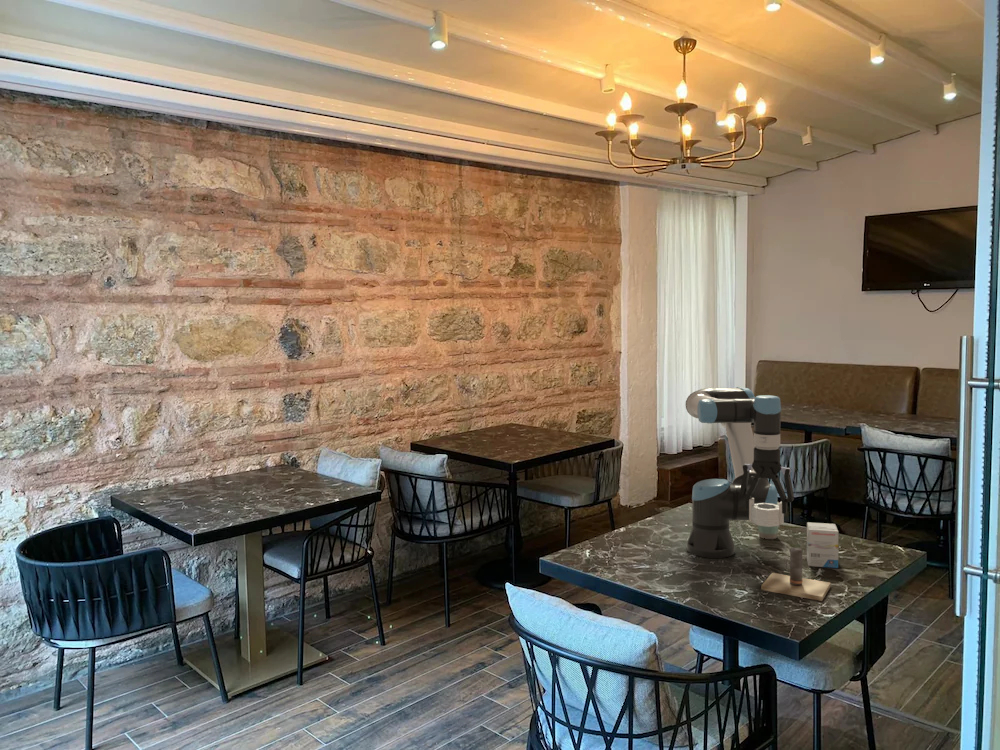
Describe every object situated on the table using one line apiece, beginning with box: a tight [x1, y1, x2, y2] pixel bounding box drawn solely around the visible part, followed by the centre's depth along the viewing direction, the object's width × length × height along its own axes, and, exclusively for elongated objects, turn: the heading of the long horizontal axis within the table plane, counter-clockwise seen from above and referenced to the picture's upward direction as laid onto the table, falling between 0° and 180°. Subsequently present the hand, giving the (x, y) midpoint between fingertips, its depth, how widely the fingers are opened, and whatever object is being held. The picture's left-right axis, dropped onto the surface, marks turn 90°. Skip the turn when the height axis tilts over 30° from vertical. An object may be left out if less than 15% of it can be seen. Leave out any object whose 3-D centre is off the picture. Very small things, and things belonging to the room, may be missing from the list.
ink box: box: [806, 521, 840, 569], centre depth 228 cm, size 9×8×12 cm
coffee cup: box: [757, 501, 780, 540], centre depth 255 cm, size 8×9×12 cm
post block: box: [760, 547, 832, 602], centre depth 208 cm, size 16×12×11 cm
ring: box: [750, 503, 780, 527], centre depth 222 cm, size 8×8×5 cm
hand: (766, 521), depth 222 cm, fingers closed on ring, 8 cm apart
